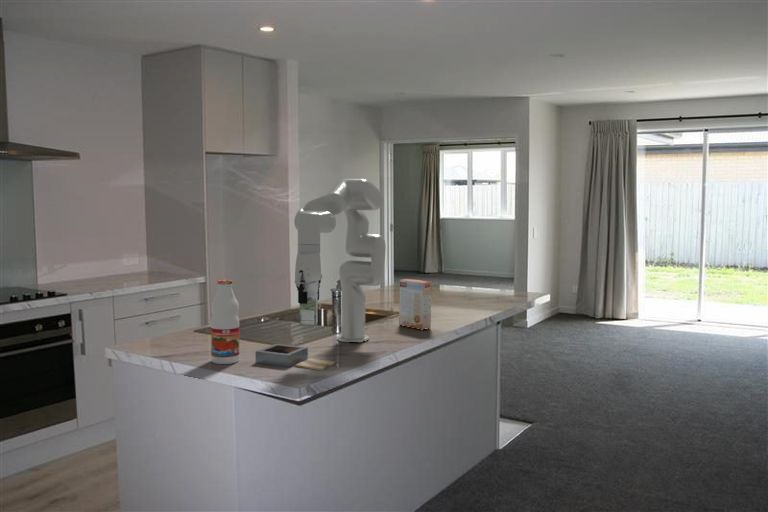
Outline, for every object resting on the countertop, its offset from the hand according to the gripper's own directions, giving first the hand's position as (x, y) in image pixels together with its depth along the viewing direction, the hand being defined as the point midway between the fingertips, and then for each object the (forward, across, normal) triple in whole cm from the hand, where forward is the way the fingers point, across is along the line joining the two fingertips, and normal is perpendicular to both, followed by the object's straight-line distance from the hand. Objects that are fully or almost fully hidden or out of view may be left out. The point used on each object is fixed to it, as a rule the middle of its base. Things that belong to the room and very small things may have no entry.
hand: (308, 301), depth 222 cm
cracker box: (+22, -75, +10) cm, 79 cm away
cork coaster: (+22, 0, +3) cm, 22 cm away
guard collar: (+22, 0, -10) cm, 24 cm away
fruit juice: (+22, +10, -27) cm, 36 cm away
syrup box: (+8, 0, 0) cm, 8 cm away
